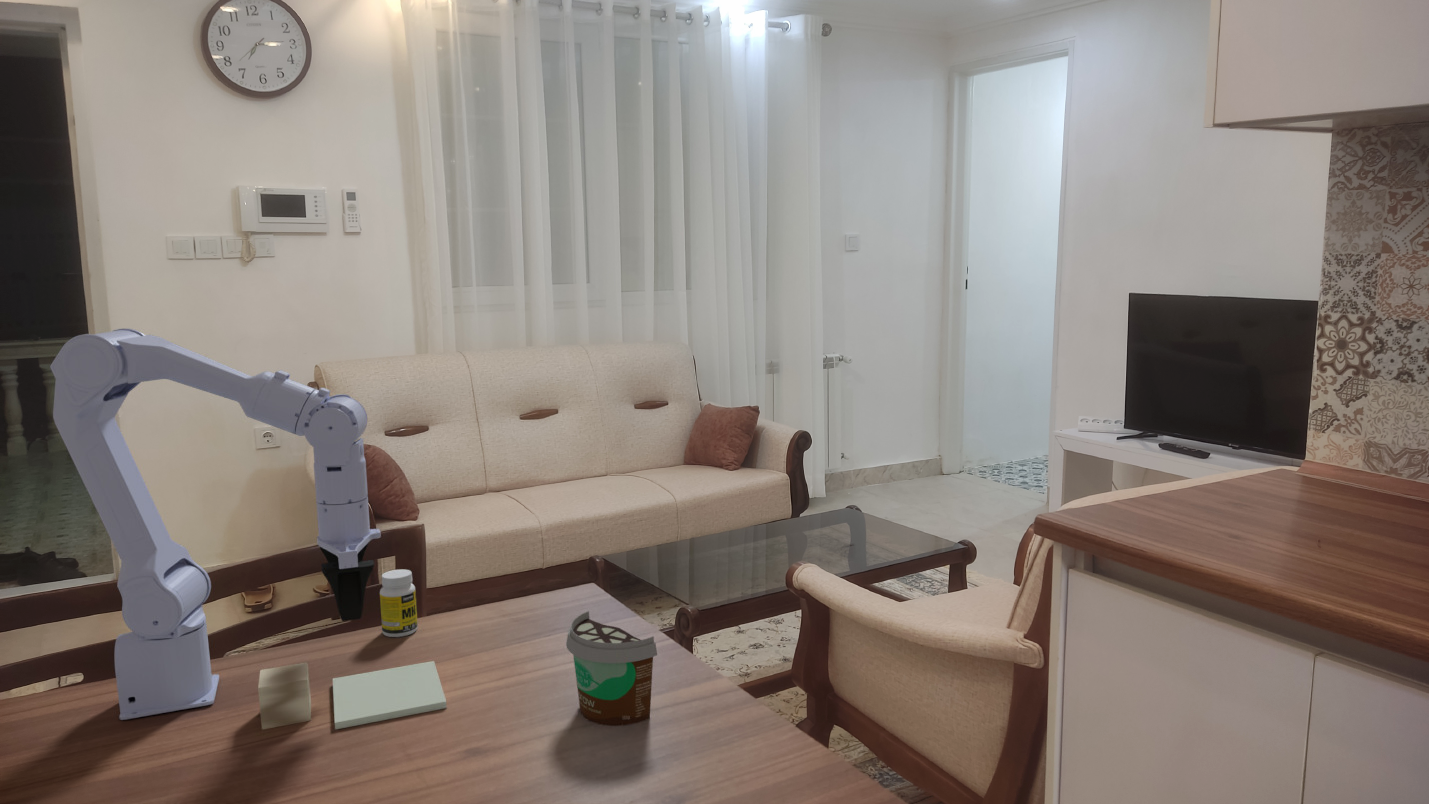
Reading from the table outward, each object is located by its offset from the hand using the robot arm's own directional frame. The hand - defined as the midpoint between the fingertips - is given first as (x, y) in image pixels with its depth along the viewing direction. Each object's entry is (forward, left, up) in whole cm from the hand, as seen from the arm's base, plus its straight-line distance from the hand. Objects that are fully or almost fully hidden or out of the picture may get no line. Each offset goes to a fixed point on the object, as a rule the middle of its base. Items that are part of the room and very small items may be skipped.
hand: (349, 608), depth 112 cm
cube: (-8, -5, -10) cm, 13 cm away
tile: (+3, -5, -10) cm, 12 cm away
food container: (+25, -20, -10) cm, 34 cm away
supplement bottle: (+6, +15, -10) cm, 19 cm away
